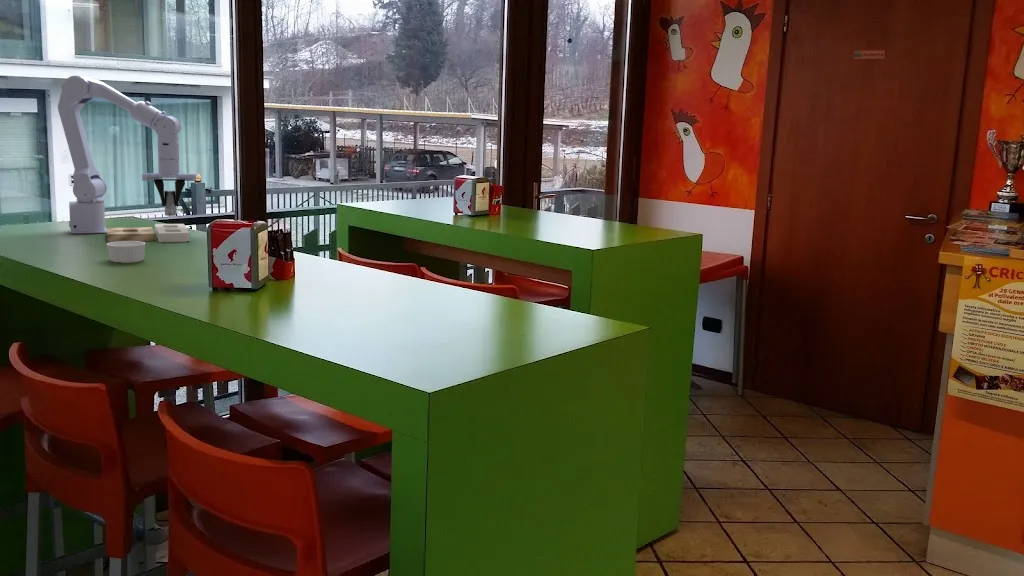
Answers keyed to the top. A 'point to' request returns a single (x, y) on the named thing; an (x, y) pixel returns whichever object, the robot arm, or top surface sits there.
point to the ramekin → (126, 251)
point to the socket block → (130, 234)
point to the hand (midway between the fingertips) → (170, 205)
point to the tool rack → (171, 233)
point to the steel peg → (170, 203)
